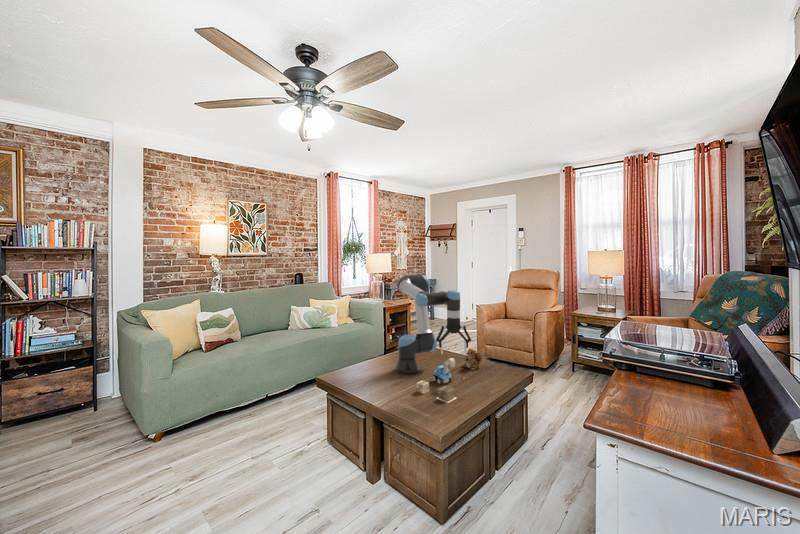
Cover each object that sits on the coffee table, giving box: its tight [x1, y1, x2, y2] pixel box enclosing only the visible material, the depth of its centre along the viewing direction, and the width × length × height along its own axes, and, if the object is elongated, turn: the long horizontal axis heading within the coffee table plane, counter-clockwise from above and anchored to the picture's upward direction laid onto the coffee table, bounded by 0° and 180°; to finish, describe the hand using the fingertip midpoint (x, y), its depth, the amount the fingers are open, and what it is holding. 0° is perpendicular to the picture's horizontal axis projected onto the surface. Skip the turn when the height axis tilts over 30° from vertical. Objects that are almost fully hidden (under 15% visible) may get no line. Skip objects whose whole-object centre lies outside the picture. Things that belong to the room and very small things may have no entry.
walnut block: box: [438, 385, 455, 403], centre depth 179 cm, size 6×6×5 cm
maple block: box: [416, 380, 430, 395], centre depth 188 cm, size 5×5×6 cm
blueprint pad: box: [436, 396, 457, 404], centre depth 182 cm, size 16×14×1 cm
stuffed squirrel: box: [461, 347, 484, 371], centre depth 228 cm, size 10×14×13 cm
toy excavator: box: [431, 357, 456, 385], centre depth 200 cm, size 9×17×17 cm, turn 27°
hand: (453, 353), depth 193 cm, fingers open, 13 cm apart
